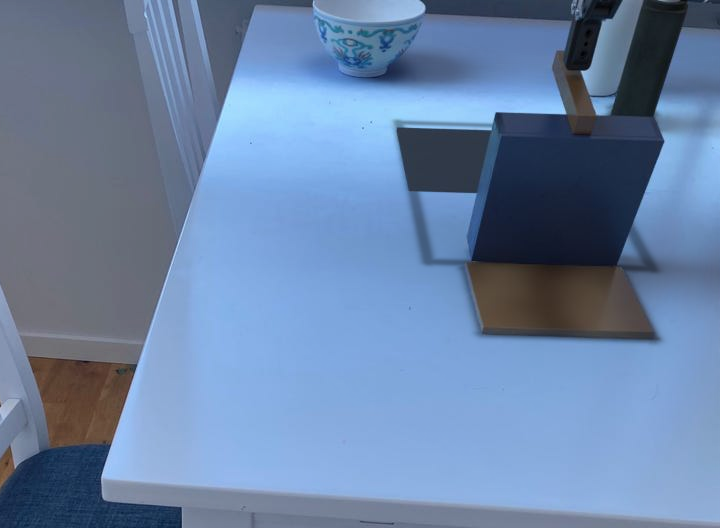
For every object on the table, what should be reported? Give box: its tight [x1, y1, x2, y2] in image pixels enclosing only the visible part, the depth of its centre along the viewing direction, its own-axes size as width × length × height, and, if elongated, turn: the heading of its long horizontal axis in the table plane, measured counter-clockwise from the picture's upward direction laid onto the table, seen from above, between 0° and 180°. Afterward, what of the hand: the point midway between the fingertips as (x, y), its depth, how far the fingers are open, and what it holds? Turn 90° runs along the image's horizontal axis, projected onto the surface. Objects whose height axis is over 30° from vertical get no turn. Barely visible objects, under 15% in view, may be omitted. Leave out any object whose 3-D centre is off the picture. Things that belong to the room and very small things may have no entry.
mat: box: [396, 126, 492, 194], centre depth 104 cm, size 22×36×1 cm, turn 178°
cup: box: [581, 0, 644, 97], centre depth 122 cm, size 10×10×14 cm
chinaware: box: [312, 0, 427, 78], centre depth 128 cm, size 15×15×8 cm
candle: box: [609, 0, 689, 117], centre depth 110 cm, size 5×5×25 cm
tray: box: [466, 49, 665, 267], centre depth 88 cm, size 14×14×12 cm
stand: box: [464, 261, 655, 340], centre depth 87 cm, size 15×12×2 cm
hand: (575, 67), depth 83 cm, fingers closed
